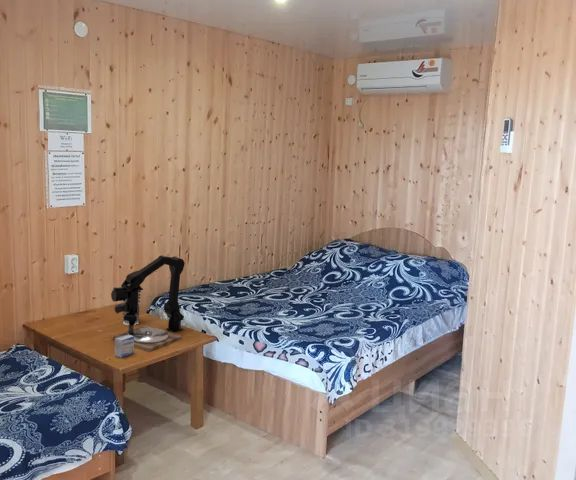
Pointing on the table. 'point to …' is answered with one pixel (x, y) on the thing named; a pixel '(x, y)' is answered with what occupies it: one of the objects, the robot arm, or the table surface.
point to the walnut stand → (153, 346)
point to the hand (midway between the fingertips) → (131, 328)
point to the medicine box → (124, 346)
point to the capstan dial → (147, 334)
